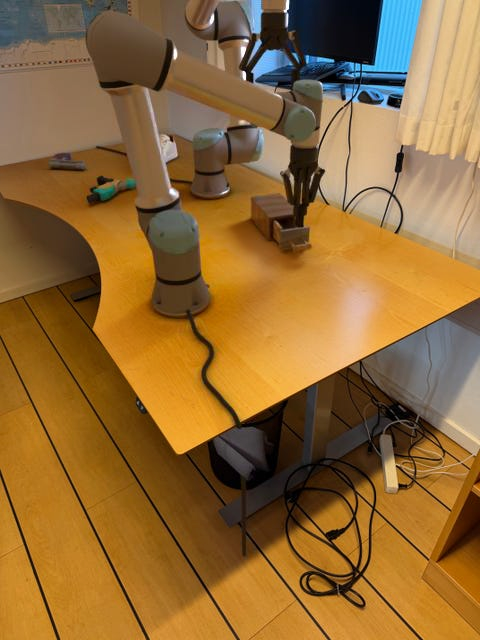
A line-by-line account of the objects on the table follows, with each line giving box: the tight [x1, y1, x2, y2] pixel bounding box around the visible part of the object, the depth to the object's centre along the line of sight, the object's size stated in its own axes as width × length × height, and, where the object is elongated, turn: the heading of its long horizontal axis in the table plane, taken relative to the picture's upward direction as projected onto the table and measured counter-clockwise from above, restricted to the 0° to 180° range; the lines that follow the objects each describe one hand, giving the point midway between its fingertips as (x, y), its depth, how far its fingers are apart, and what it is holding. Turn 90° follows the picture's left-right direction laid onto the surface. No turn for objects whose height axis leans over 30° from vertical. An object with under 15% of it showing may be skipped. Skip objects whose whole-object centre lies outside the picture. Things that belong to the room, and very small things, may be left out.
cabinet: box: [250, 192, 294, 241], centre depth 160 cm, size 18×11×8 cm, turn 17°
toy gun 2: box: [86, 175, 136, 204], centre depth 187 cm, size 4×26×15 cm
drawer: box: [271, 216, 313, 252], centre depth 150 cm, size 23×10×6 cm, turn 17°
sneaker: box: [159, 133, 179, 164], centre depth 214 cm, size 10×29×12 cm, turn 163°
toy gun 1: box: [47, 152, 87, 171], centre depth 216 cm, size 4×19×15 cm
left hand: (299, 225), depth 141 cm, fingers closed
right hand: (272, 95), depth 143 cm, fingers open, 13 cm apart
